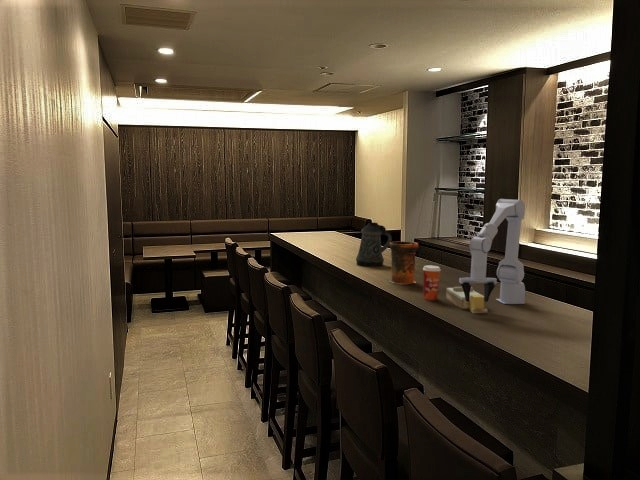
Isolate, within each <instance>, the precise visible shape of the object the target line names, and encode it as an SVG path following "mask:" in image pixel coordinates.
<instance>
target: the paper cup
mask: <svg viewBox="0 0 640 480" xmlns="http://www.w3.org/2000/svg"><path fill="white" fill-rule="evenodd" d="M422 270H423V272H422V273H423V283H422V284H423V299H424V300H428V301H436V300H438V293H439V283H440V276H441V275H440V272H441V271H442V270H441V268H440V266H438V265H424V266H423V268H422Z"/></svg>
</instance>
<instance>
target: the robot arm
mask: <svg viewBox="0 0 640 480" xmlns="http://www.w3.org/2000/svg"><path fill="white" fill-rule="evenodd" d="M525 212H526V203H524V201H523V200H522V199H510V198H509V199H507V198H500V199H498V200H497V202H496V204H495V212H494V213H493V215H492V217H491V219H490V221H489V222H487V223H485V224H484V225H483V227H481V229H480V231H479V232H478V233H477V234H476V236H473V237H472V238H471V239H470V241H469V243H468V244H469V245H468V246H469V250H470V255H471V262H470V263H471V264H470V276H469V277H468V276H467V277H466V276H465V277H459V280H458V282H459V283H460V287H462V288H463V291H464V294H465V300H466V301H467V302H469V300H470V289H471V287H472V285H471V284H483V289H484V295H483V296H484V301H486V303H488V302H489V299H490V296H491V295H492V292H493V290H494V289H495V287H496V285H495V284H497V282H498V281H497V280H499V281H500V286H499V287H500V289H499V290H500V291H499V298H495V300H496V301H498V302H499V303H501V304H503V305H525V304H526V302H525V296H526V295H525V294H526V287H525V283H524V282H522V281H523V279H524V277H525V270H524V265H525V264H524V263H523V262H521V261H520V259H519V249H520V239H521V229H522V220H524V219H525ZM505 219H506V220H507V233H506V240H505V241H506V242H505V243H506V244H505V253H504V254H505V255H504V258H503V259H502V260H500V261H499V262H498V267H497V269H496V276H497V278H496V277H487V262H488V252H489V251H491V247H492V243H493V240H494V238H495V236H496V235H497V234H498V231H499V230H498V227H499V226H500V224H501V223H503V221H504V220H505Z"/></svg>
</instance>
